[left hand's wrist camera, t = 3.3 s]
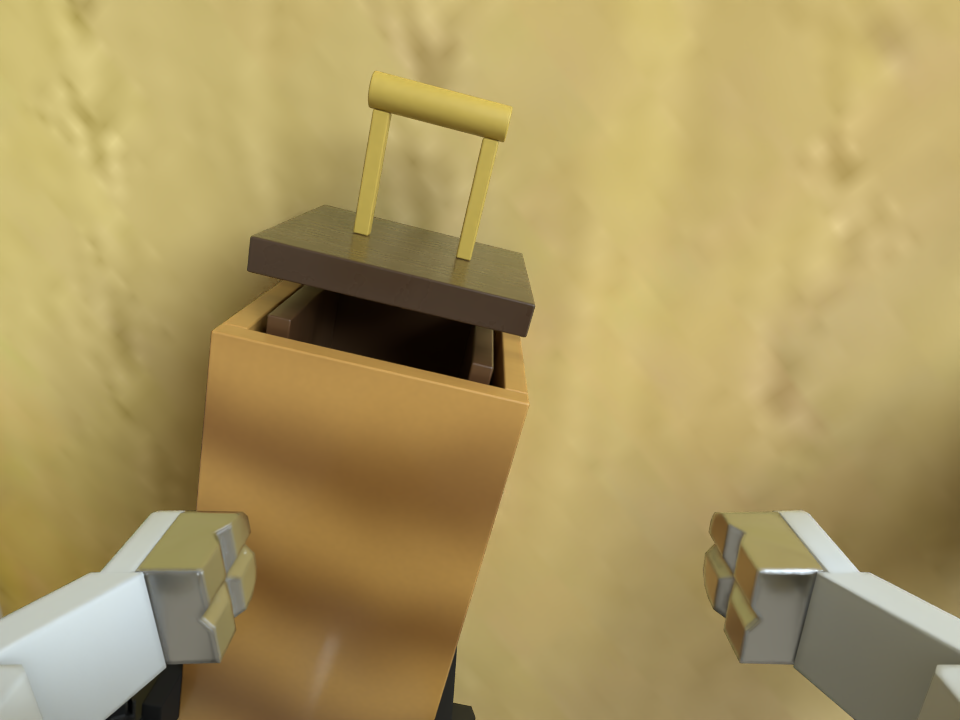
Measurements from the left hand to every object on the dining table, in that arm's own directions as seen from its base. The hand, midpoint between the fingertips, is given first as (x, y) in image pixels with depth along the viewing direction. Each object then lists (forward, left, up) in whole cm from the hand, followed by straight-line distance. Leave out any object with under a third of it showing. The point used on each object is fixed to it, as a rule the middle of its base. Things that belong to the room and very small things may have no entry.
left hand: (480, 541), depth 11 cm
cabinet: (+10, +6, -20) cm, 23 cm away
